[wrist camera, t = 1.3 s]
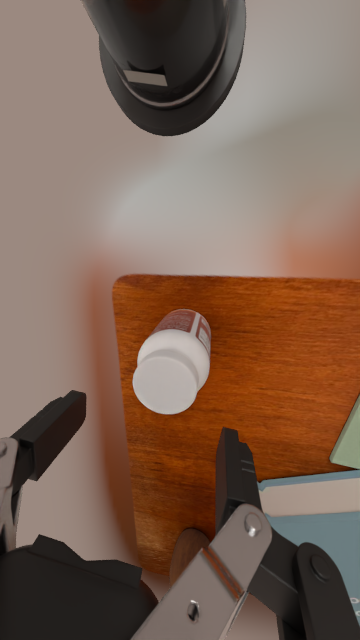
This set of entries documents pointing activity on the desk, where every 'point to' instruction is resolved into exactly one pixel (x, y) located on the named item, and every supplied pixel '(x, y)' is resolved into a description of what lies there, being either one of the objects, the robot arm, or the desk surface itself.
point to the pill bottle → (173, 362)
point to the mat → (349, 441)
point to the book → (320, 518)
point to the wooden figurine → (186, 551)
